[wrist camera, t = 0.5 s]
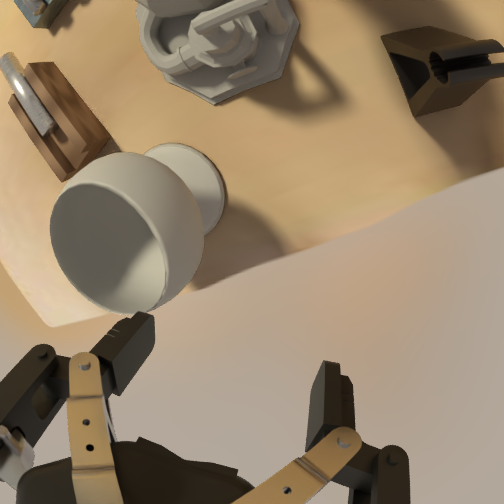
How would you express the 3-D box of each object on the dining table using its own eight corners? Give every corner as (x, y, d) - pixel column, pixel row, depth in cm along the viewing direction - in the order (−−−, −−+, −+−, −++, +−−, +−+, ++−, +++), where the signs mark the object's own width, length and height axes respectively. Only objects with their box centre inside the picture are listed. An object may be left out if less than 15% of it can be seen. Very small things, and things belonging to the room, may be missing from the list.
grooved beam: (31, 98, 30) (8, 102, 26) (52, 61, 27) (28, 63, 23) (84, 171, 35) (61, 182, 30) (111, 136, 32) (86, 144, 28)
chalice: (195, 111, 29) (111, 127, 16) (255, 222, 34) (218, 305, 21) (108, 170, 34) (21, 217, 21) (162, 261, 39) (103, 337, 26)
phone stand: (379, 36, 22) (418, 3, 11) (428, 26, 19) (483, -1, 9) (412, 117, 25) (466, 131, 15) (458, 105, 23) (524, 117, 12)
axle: (8, 67, 25) (-6, 67, 22) (17, 52, 24) (4, 51, 21) (52, 135, 29) (38, 138, 27) (63, 119, 28) (49, 121, 26)
